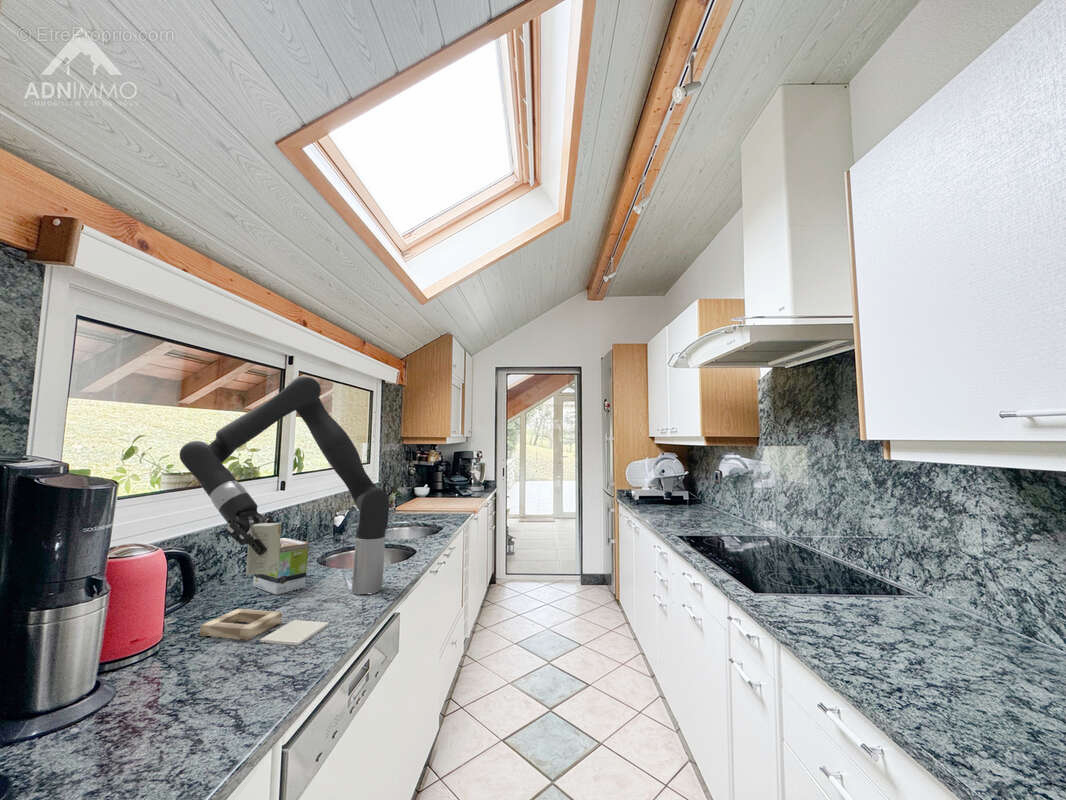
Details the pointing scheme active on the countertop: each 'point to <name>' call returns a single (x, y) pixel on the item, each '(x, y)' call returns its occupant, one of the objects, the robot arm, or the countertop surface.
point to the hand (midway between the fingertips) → (270, 550)
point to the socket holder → (229, 629)
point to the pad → (294, 632)
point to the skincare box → (271, 541)
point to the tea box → (286, 569)
